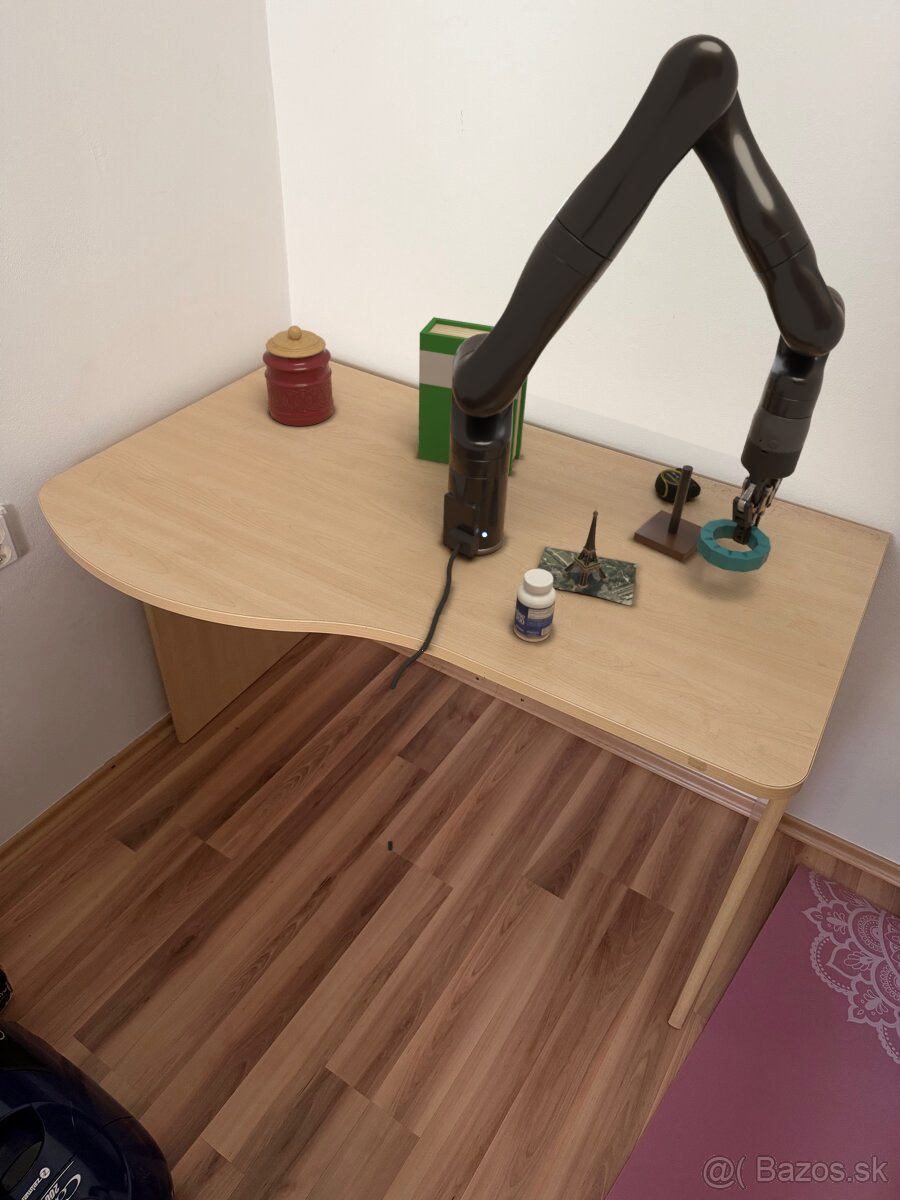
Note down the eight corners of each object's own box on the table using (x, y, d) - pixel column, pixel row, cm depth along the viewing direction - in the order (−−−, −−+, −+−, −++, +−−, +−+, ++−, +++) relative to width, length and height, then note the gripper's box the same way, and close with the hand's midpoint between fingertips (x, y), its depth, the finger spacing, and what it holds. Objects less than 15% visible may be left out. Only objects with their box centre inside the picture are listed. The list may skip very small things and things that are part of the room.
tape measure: (699, 502, 147) (704, 484, 145) (665, 508, 145) (669, 489, 143) (679, 482, 152) (684, 464, 150) (646, 487, 150) (650, 469, 148)
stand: (682, 561, 134) (701, 489, 125) (633, 539, 138) (648, 468, 129) (707, 537, 139) (727, 466, 130) (659, 516, 143) (675, 447, 135)
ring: (748, 580, 119) (752, 567, 118) (685, 552, 124) (688, 539, 123) (776, 550, 125) (781, 537, 124) (715, 524, 130) (719, 511, 129)
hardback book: (520, 456, 157) (532, 332, 142) (510, 475, 152) (521, 348, 137) (431, 439, 161) (433, 317, 146) (418, 458, 156) (419, 332, 140)
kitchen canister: (305, 434, 161) (297, 346, 150) (255, 415, 167) (244, 328, 155) (347, 408, 170) (343, 323, 159) (298, 391, 175) (291, 308, 164)
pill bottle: (510, 618, 122) (516, 565, 115) (547, 617, 122) (554, 564, 116) (516, 644, 117) (522, 590, 111) (553, 642, 118) (561, 589, 112)
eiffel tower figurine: (638, 566, 132) (654, 494, 124) (631, 605, 125) (647, 532, 116) (545, 548, 135) (554, 477, 127) (532, 586, 128) (541, 513, 119)
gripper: (770, 411, 122) (739, 510, 133) (729, 445, 114) (699, 548, 125) (821, 428, 118) (784, 529, 129) (782, 465, 110) (746, 569, 121)
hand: (743, 538), depth 127 cm, fingers closed on ring, 2 cm apart
